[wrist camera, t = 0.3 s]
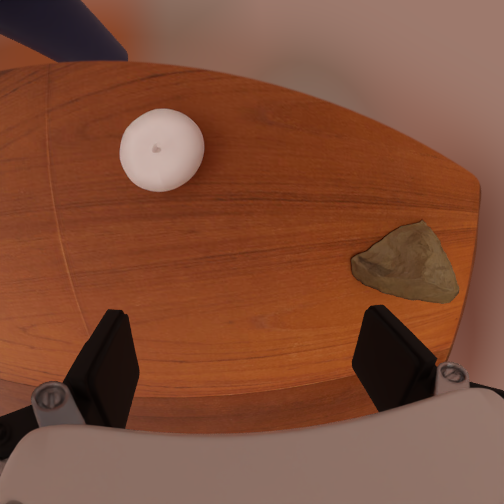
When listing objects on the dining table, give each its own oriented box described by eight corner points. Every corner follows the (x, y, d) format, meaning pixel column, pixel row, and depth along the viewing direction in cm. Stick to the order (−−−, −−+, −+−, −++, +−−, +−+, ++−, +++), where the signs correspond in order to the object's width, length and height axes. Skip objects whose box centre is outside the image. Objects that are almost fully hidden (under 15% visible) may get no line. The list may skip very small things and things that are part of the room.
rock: (343, 306, 30) (415, 315, 30) (382, 287, 22) (462, 300, 22) (347, 217, 34) (413, 234, 34) (378, 179, 26) (451, 204, 26)
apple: (211, 180, 26) (208, 187, 19) (140, 193, 26) (111, 206, 18) (201, 109, 24) (194, 89, 17) (129, 125, 24) (97, 113, 16)
